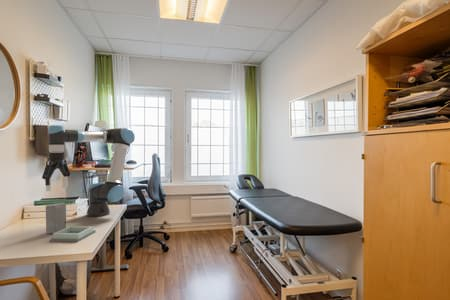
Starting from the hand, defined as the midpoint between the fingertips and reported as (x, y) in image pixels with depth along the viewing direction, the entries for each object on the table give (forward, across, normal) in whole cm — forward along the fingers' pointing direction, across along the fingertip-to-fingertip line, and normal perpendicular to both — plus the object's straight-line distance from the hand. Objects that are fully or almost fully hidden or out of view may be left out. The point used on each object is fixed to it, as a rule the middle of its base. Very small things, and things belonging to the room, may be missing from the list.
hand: (57, 189), depth 148 cm
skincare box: (+25, 0, -1) cm, 25 cm away
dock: (+24, +8, +15) cm, 30 cm away
